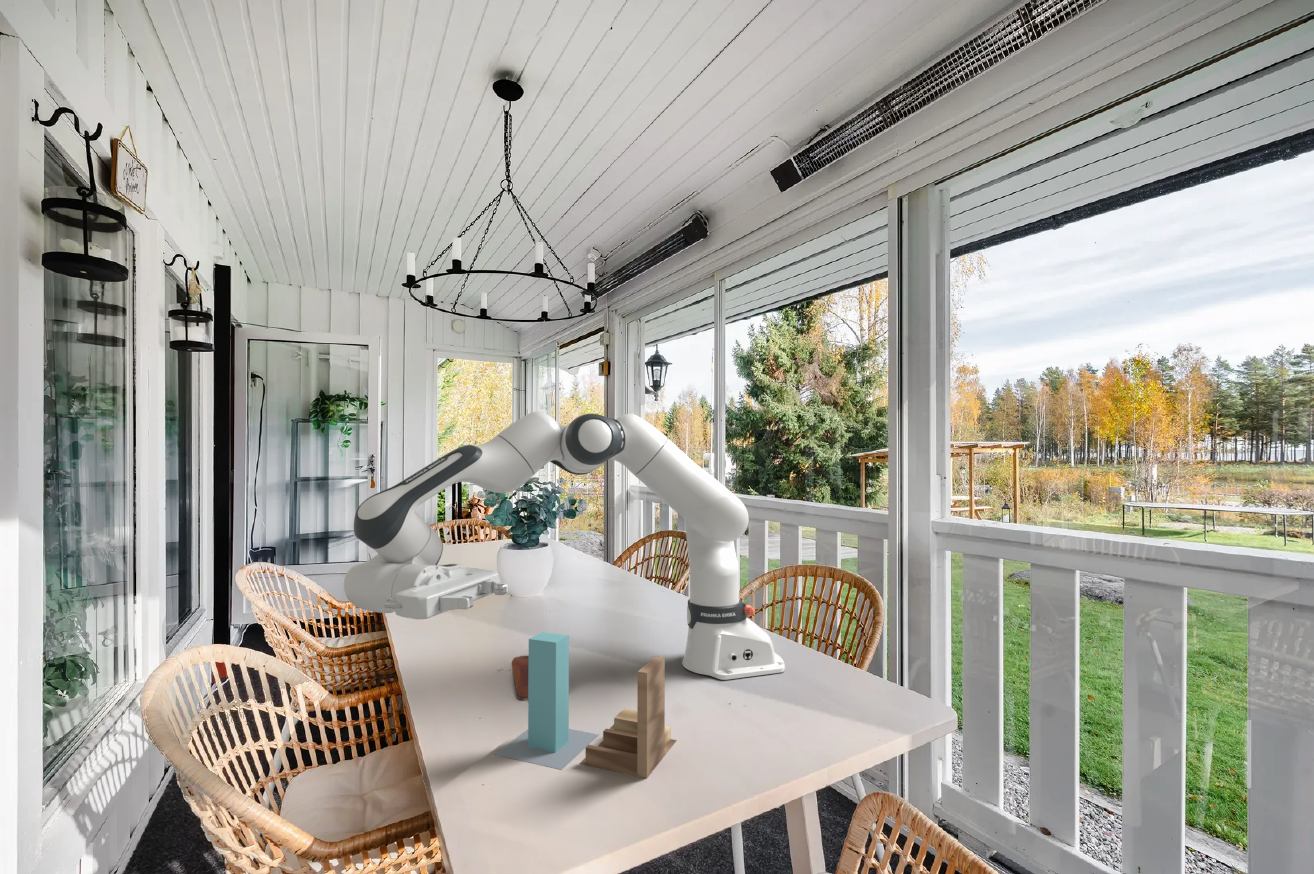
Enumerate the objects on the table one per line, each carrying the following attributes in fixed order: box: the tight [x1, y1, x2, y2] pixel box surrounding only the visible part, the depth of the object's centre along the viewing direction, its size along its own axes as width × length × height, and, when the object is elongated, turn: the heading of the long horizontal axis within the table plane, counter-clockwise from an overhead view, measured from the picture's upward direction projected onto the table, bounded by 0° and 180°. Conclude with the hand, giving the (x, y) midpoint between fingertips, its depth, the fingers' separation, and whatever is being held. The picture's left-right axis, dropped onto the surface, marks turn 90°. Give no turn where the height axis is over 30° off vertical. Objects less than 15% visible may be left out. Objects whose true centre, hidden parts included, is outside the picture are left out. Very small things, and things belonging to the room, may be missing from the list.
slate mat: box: [493, 728, 600, 771], centre depth 99 cm, size 12×12×1 cm
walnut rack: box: [579, 656, 678, 779], centre depth 97 cm, size 12×11×16 cm
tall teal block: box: [527, 631, 570, 753], centre depth 99 cm, size 4×5×17 cm
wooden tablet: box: [511, 654, 529, 702], centre depth 132 cm, size 27×10×2 cm, turn 17°
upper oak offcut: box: [613, 707, 637, 734], centre depth 100 cm, size 4×7×2 cm, turn 68°
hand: (488, 595), depth 104 cm, fingers open, 8 cm apart
